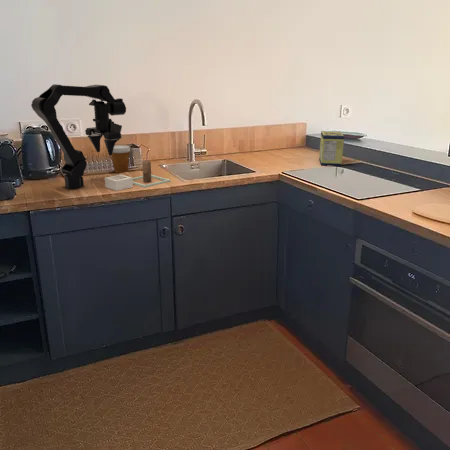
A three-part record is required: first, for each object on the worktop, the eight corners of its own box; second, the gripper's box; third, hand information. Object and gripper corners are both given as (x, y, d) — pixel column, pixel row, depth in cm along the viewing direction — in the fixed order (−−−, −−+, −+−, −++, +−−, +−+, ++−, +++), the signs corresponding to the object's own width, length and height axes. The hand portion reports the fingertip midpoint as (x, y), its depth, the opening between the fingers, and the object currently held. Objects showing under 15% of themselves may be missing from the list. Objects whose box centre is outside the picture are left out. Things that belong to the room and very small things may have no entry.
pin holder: (116, 193, 191) (116, 181, 189) (105, 189, 196) (104, 177, 194) (133, 189, 197) (132, 177, 195) (121, 185, 202) (120, 174, 200)
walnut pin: (146, 183, 203) (146, 163, 200) (141, 182, 205) (140, 161, 202) (153, 182, 205) (152, 161, 202) (147, 180, 207) (147, 160, 204)
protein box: (338, 160, 256) (340, 131, 250) (341, 166, 241) (344, 136, 236) (318, 159, 257) (320, 130, 251) (320, 166, 242) (323, 135, 237)
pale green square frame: (144, 189, 196) (144, 185, 195) (124, 183, 205) (124, 179, 204) (170, 183, 206) (170, 179, 205) (150, 178, 215) (149, 174, 214)
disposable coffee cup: (127, 174, 220) (125, 149, 216) (107, 173, 222) (106, 148, 218) (134, 170, 229) (133, 145, 225) (116, 169, 231) (114, 144, 227)
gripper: (131, 117, 196) (133, 154, 201) (106, 113, 208) (108, 148, 213) (108, 119, 188) (110, 158, 193) (83, 114, 200) (86, 151, 205)
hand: (104, 153), depth 201 cm, fingers open, 9 cm apart
